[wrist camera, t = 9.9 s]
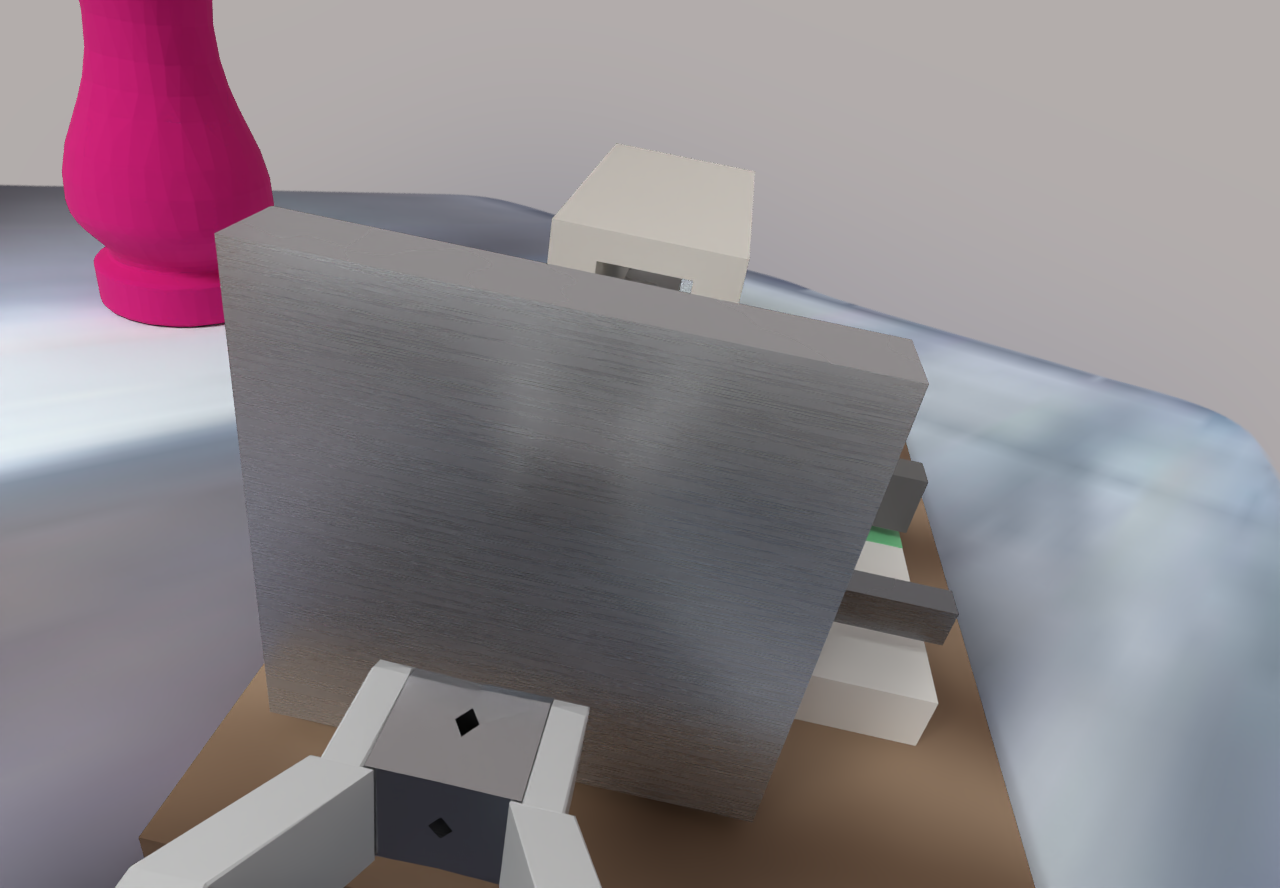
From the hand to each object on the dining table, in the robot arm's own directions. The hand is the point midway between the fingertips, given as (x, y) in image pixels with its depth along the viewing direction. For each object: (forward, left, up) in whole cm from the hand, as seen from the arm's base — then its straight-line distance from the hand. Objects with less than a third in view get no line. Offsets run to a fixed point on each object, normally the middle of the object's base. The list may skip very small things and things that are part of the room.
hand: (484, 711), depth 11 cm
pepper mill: (-29, -8, -7) cm, 31 cm away
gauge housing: (-20, +9, -6) cm, 23 cm away
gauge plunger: (-11, +7, -5) cm, 14 cm away
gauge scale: (-9, +12, -6) cm, 16 cm away
